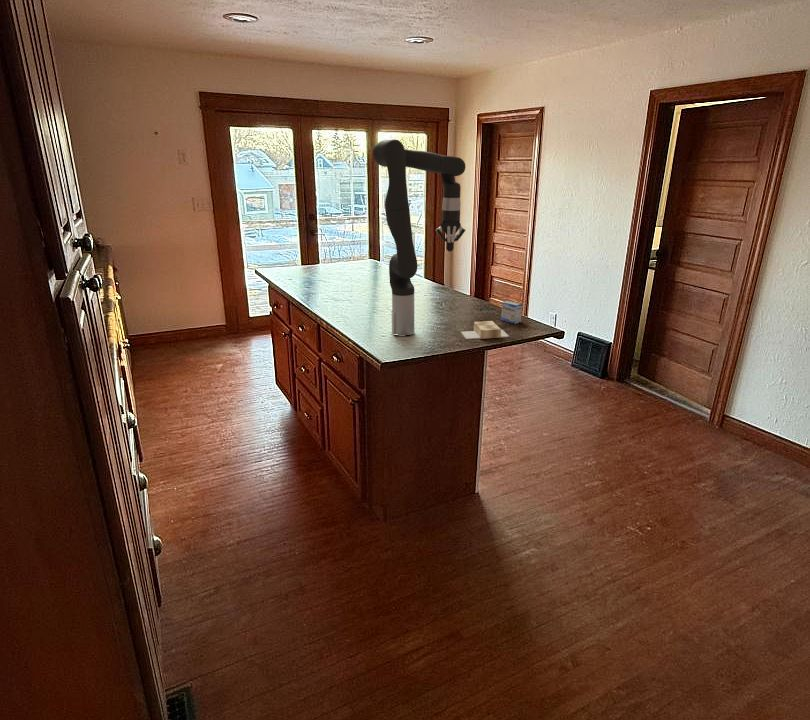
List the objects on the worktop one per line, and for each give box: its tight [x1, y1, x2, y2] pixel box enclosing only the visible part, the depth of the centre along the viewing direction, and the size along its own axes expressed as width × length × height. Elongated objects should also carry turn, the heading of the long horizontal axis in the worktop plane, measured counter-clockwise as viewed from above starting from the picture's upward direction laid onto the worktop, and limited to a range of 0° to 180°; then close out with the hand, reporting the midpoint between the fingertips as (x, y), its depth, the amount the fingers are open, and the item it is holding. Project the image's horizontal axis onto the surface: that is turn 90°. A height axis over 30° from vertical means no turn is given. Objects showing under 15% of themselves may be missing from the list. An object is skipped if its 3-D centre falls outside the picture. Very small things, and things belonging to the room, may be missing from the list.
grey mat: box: [460, 329, 510, 340], centre depth 215 cm, size 18×9×1 cm, turn 98°
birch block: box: [473, 320, 502, 340], centre depth 215 cm, size 8×4×12 cm
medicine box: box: [500, 300, 523, 325], centre depth 231 cm, size 8×4×9 cm, turn 45°
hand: (449, 251), depth 221 cm, fingers closed
